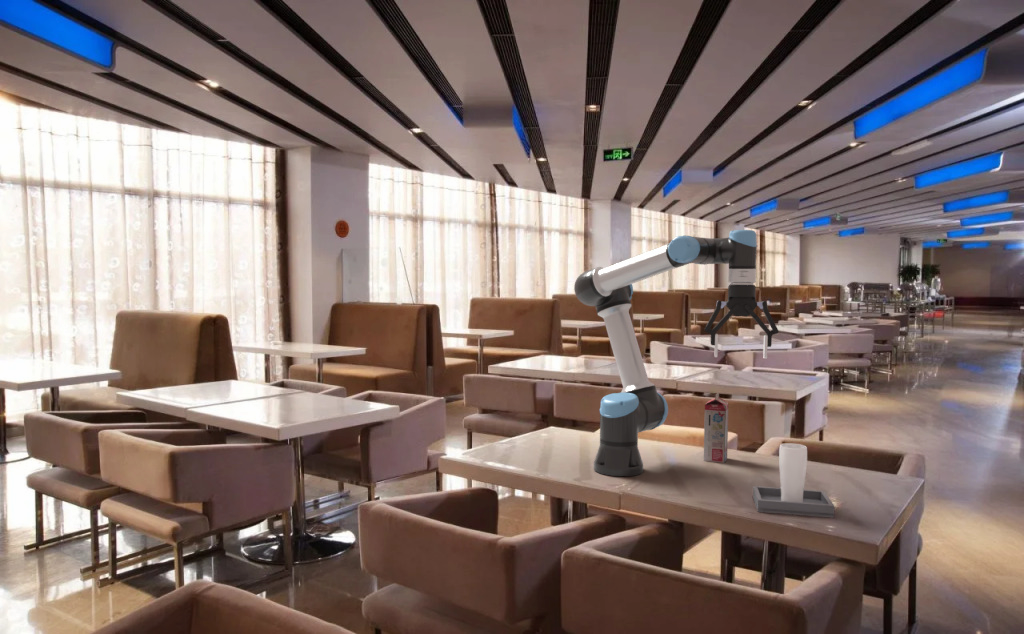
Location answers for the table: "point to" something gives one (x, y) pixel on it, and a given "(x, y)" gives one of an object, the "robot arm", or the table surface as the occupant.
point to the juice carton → (716, 430)
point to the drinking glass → (792, 471)
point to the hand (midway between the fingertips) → (740, 357)
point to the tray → (811, 505)
